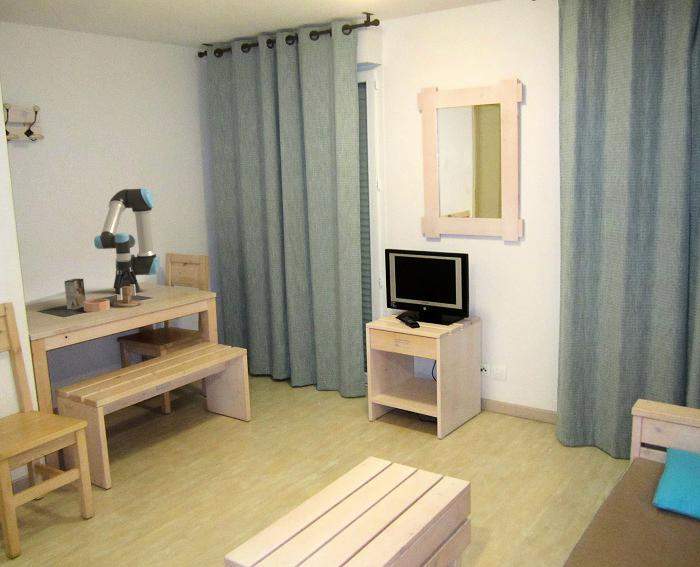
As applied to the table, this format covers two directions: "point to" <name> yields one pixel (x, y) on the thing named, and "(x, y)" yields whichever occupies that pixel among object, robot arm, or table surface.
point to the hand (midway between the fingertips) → (126, 297)
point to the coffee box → (75, 293)
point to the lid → (127, 299)
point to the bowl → (96, 305)
